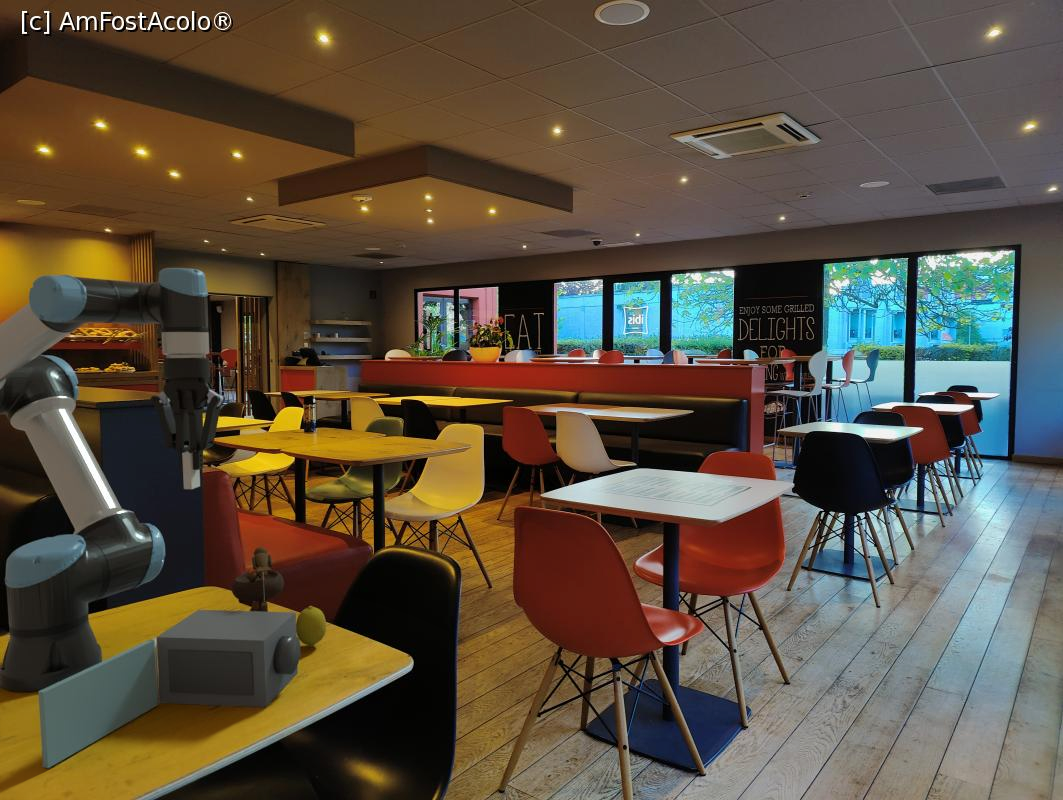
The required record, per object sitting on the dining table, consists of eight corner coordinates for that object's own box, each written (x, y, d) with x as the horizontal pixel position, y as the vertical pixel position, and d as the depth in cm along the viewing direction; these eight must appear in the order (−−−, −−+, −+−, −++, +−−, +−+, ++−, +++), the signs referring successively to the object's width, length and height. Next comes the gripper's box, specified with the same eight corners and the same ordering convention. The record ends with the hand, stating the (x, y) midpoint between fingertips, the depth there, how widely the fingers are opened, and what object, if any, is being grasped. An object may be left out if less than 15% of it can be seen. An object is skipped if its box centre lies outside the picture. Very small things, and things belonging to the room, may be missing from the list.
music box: (306, 649, 135) (294, 549, 132) (249, 673, 127) (235, 566, 125) (271, 627, 146) (260, 533, 143) (217, 647, 138) (204, 549, 136)
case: (158, 703, 115) (155, 637, 114) (200, 669, 127) (198, 609, 126) (277, 708, 113) (274, 641, 112) (308, 673, 125) (306, 612, 124)
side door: (150, 701, 115) (147, 637, 114) (160, 703, 114) (157, 638, 113) (36, 765, 97) (32, 690, 97) (48, 768, 97) (43, 692, 96)
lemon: (318, 638, 140) (316, 598, 140) (331, 646, 136) (330, 606, 136) (291, 646, 136) (290, 606, 136) (305, 655, 132) (303, 613, 132)
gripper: (232, 356, 129) (237, 484, 131) (164, 356, 130) (170, 483, 132) (209, 356, 122) (215, 492, 123) (138, 357, 123) (144, 491, 125)
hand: (192, 487), depth 128 cm, fingers closed
